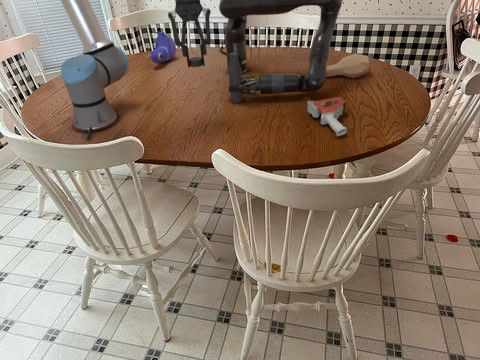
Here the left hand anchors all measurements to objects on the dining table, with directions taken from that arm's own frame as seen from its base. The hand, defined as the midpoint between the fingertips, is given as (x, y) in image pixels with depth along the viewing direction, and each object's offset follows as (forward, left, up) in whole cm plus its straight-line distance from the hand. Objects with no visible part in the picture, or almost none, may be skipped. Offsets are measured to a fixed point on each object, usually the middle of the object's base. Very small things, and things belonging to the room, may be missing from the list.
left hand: (196, 65), depth 120 cm
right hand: (+15, -10, -14) cm, 22 cm away
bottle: (+15, -12, -20) cm, 28 cm away
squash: (+36, -61, -20) cm, 73 cm away
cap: (0, 0, +2) cm, 2 cm away
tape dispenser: (-7, -45, -20) cm, 49 cm away
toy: (+67, +27, -20) cm, 75 cm away
